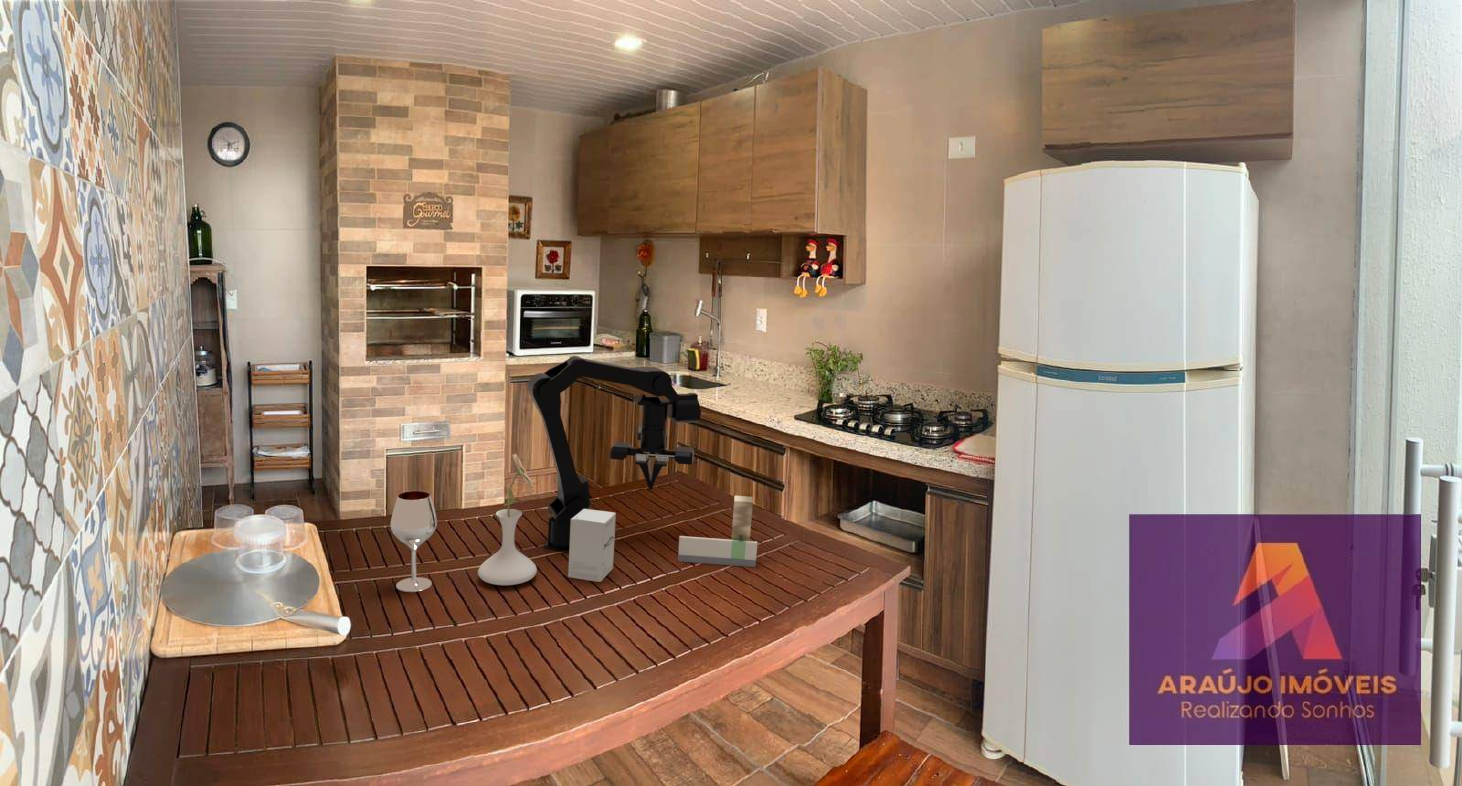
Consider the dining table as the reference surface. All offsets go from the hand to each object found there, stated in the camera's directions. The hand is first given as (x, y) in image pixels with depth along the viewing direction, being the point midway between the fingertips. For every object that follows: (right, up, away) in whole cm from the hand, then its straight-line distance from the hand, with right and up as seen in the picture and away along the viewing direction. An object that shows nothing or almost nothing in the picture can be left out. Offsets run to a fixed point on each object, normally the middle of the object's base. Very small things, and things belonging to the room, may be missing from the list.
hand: (650, 489), depth 186 cm
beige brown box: (+20, -13, -7) cm, 25 cm away
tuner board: (+15, -15, -6) cm, 22 cm away
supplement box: (-10, -15, -20) cm, 27 cm away
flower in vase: (-26, -15, -24) cm, 39 cm away
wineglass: (-42, -15, -31) cm, 55 cm away
